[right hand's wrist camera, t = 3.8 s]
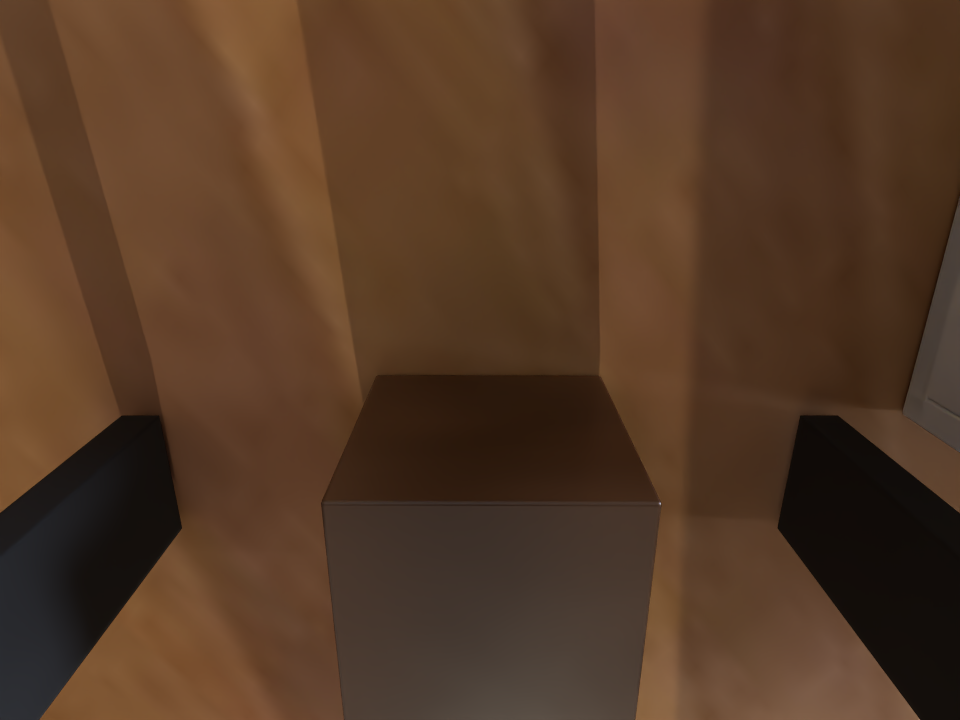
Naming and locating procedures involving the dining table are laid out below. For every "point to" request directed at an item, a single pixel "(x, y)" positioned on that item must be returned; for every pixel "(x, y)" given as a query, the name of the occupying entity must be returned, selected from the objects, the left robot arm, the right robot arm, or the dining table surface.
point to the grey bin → (940, 354)
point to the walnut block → (490, 552)
